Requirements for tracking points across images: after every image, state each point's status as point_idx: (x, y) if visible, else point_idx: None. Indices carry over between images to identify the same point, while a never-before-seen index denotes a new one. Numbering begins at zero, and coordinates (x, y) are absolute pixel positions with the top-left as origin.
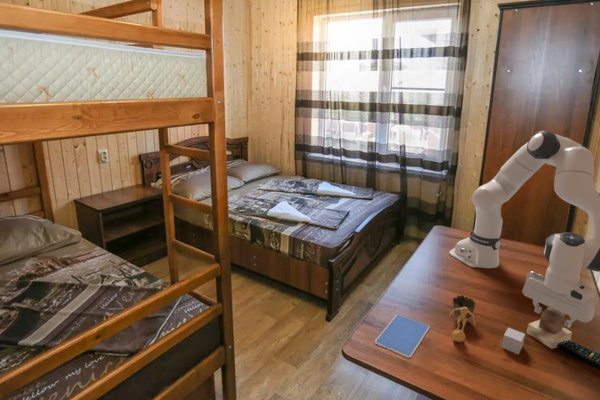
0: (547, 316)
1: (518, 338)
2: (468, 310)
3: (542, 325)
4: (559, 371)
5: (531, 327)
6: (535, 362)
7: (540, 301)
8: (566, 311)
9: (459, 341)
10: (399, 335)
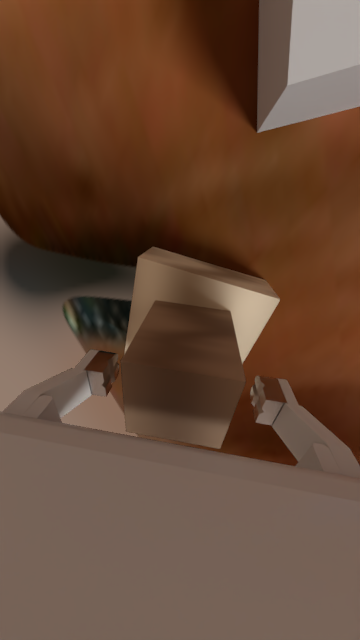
0: (198, 359)
1: None
2: None
3: (215, 316)
4: (48, 70)
5: (258, 290)
6: (153, 11)
7: (305, 486)
8: (24, 456)
9: None
10: None
